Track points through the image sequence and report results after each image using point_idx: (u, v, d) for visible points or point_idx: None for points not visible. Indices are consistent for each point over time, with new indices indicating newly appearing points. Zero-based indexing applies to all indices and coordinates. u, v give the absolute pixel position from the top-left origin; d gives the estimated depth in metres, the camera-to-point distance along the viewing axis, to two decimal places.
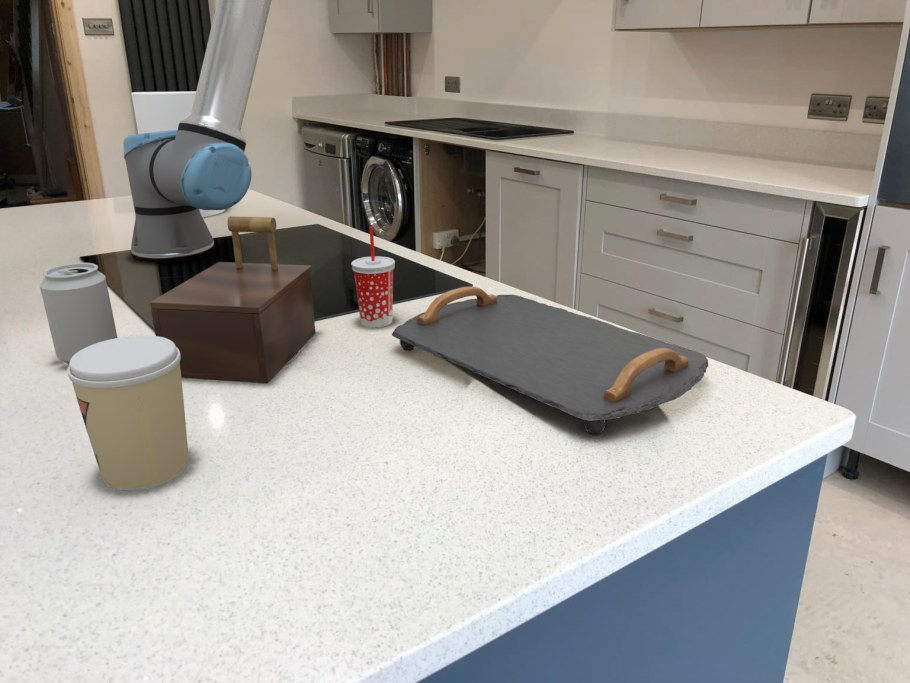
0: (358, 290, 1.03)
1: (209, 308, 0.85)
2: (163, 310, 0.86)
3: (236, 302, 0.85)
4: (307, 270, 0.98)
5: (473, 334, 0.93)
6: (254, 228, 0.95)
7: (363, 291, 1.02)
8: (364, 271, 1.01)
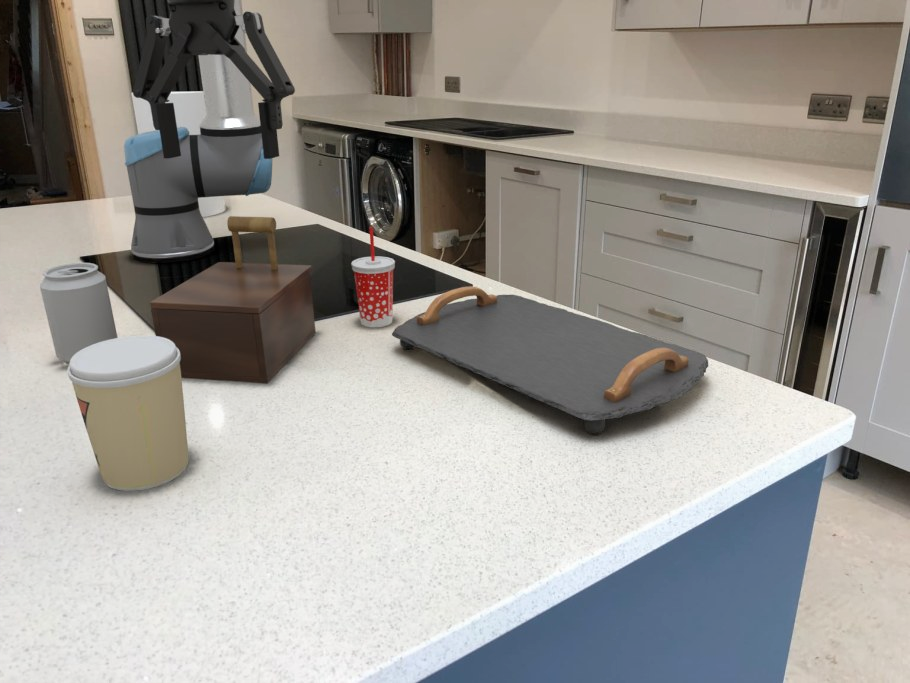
0: (358, 290, 1.03)
1: (209, 308, 0.85)
2: (163, 310, 0.86)
3: (236, 302, 0.85)
4: (307, 270, 0.98)
5: (473, 333, 0.93)
6: (254, 228, 0.95)
7: (363, 291, 1.02)
8: (364, 271, 1.01)
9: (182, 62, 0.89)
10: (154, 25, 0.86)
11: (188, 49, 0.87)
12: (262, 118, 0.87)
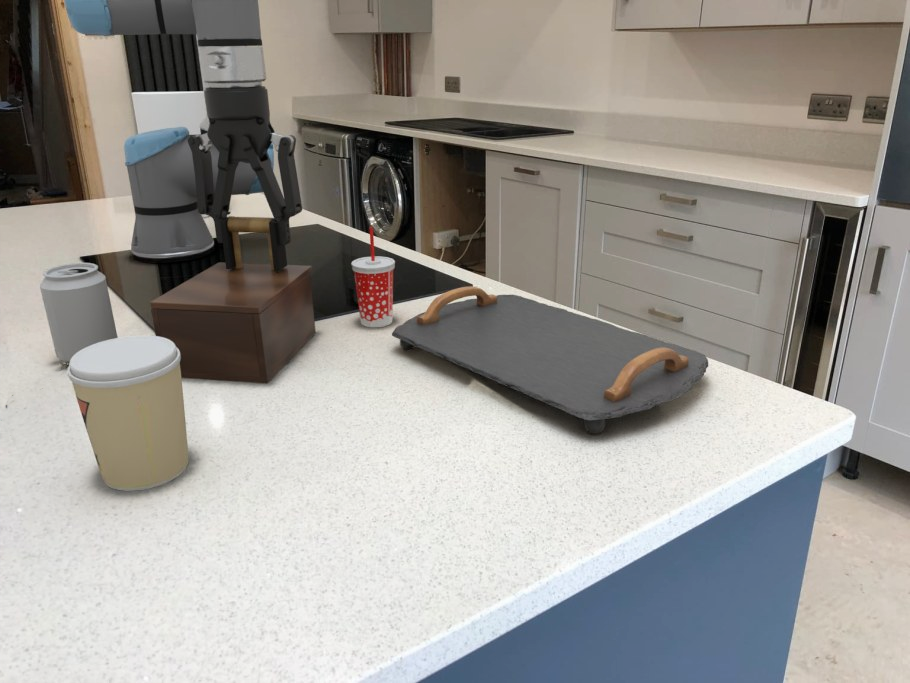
0: (358, 290, 1.03)
1: (209, 308, 0.85)
2: (163, 310, 0.86)
3: (236, 302, 0.85)
4: (307, 270, 0.98)
5: (473, 333, 0.93)
6: (254, 228, 0.95)
7: (363, 291, 1.02)
8: (364, 271, 1.01)
9: (231, 172, 0.94)
10: (196, 144, 0.92)
11: None
12: (272, 235, 0.95)
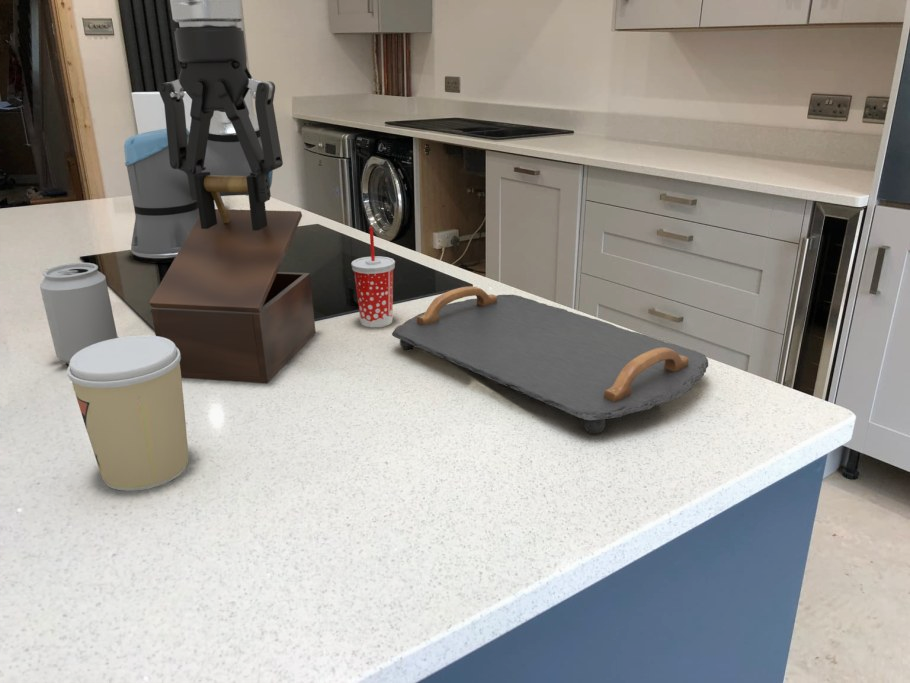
0: (358, 290, 1.03)
1: (209, 308, 0.85)
2: (163, 310, 0.86)
3: (235, 299, 0.85)
4: (297, 220, 0.94)
5: (473, 333, 0.93)
6: (234, 190, 0.89)
7: (363, 291, 1.02)
8: (364, 271, 1.01)
9: (206, 123, 0.87)
10: (167, 91, 0.85)
11: None
12: (250, 191, 0.88)
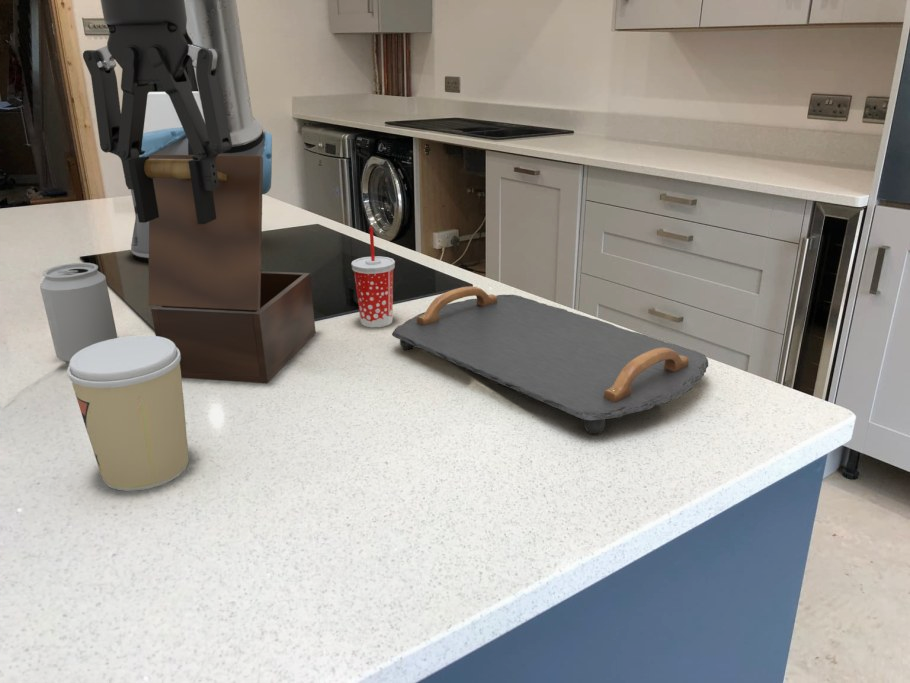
0: (358, 290, 1.03)
1: None
2: (163, 310, 0.86)
3: (231, 299, 0.84)
4: (260, 171, 0.82)
5: (473, 333, 0.93)
6: (182, 178, 0.78)
7: (363, 291, 1.02)
8: (364, 271, 1.01)
9: (141, 98, 0.74)
10: (94, 60, 0.72)
11: None
12: (194, 178, 0.75)
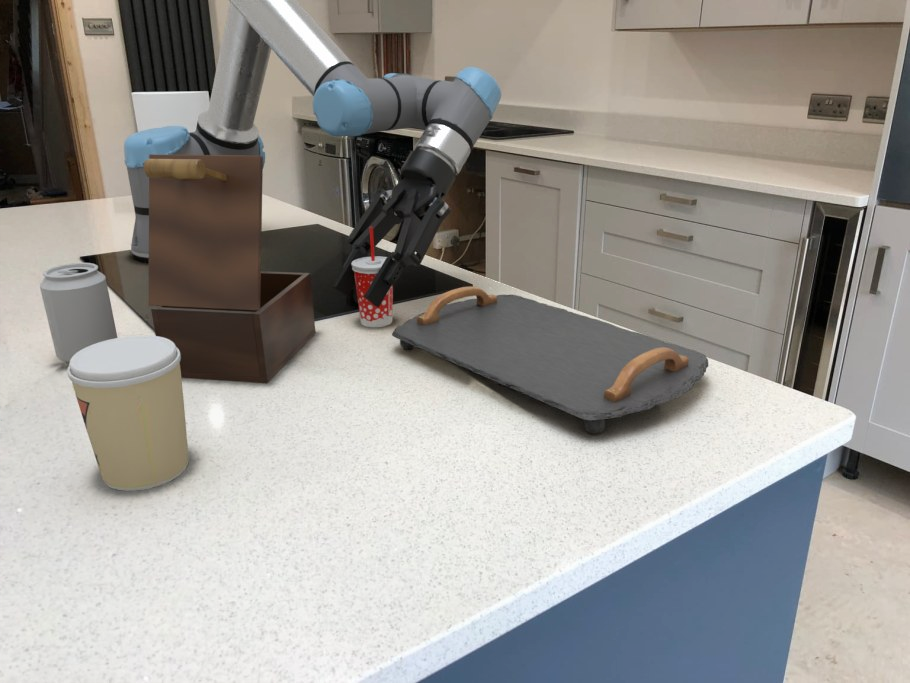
0: (358, 290, 1.03)
1: None
2: (163, 310, 0.86)
3: (231, 299, 0.84)
4: (260, 171, 0.82)
5: (473, 333, 0.93)
6: (182, 178, 0.78)
7: (363, 291, 1.02)
8: (364, 271, 1.01)
9: (389, 222, 1.06)
10: (381, 192, 1.08)
11: None
12: (382, 267, 1.00)
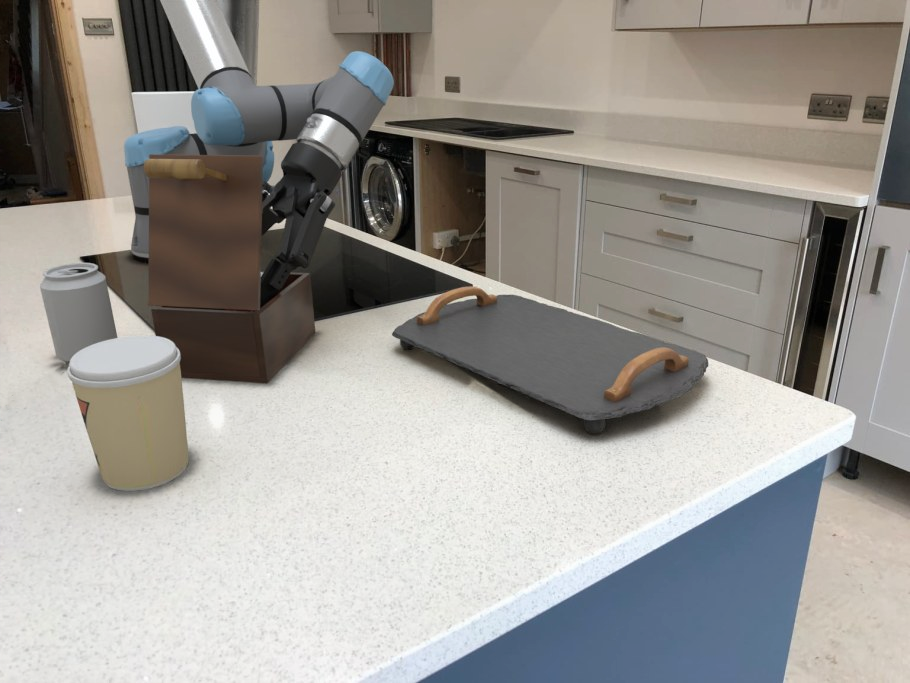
0: None
1: None
2: (163, 310, 0.86)
3: (231, 299, 0.84)
4: (260, 171, 0.82)
5: (473, 333, 0.93)
6: (182, 178, 0.78)
7: (230, 310, 0.94)
8: None
9: (268, 220, 0.98)
10: (263, 187, 0.99)
11: (272, 205, 0.97)
12: (266, 271, 0.90)
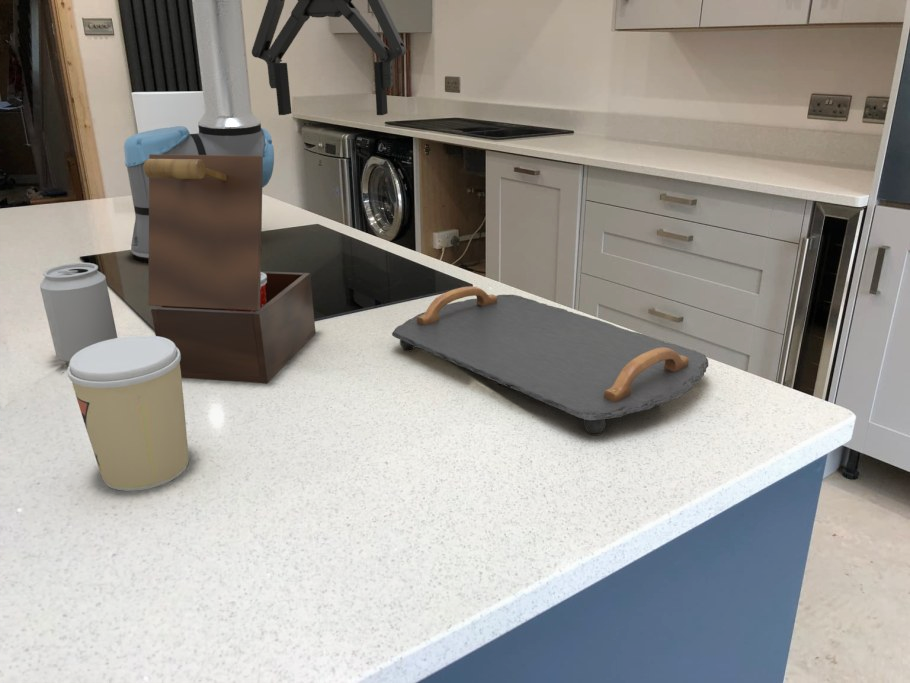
0: None
1: None
2: (163, 310, 0.86)
3: (231, 299, 0.84)
4: (260, 171, 0.82)
5: (473, 333, 0.93)
6: (182, 178, 0.78)
7: (230, 310, 0.94)
8: None
9: (300, 24, 0.95)
10: None
11: (308, 11, 0.93)
12: (377, 77, 0.94)
